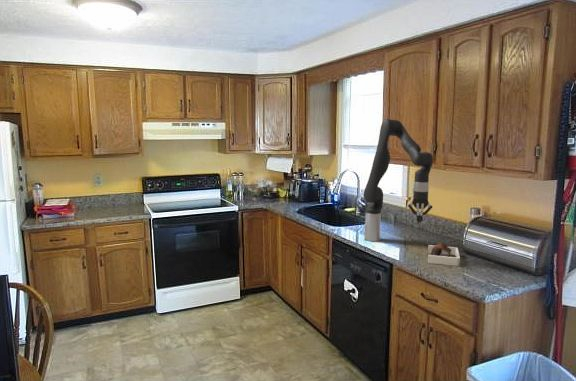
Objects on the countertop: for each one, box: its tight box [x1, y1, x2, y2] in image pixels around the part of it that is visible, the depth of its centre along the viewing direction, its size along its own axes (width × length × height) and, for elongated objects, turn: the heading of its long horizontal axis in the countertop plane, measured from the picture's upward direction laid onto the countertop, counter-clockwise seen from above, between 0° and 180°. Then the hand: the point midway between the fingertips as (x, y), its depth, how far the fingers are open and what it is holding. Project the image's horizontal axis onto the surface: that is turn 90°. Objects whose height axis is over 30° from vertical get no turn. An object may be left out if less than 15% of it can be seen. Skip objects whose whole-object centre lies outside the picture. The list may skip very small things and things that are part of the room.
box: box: [427, 244, 461, 267], centre depth 212 cm, size 15×20×4 cm
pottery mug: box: [430, 242, 451, 257], centre depth 215 cm, size 12×10×8 cm
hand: (419, 222), depth 214 cm, fingers closed
